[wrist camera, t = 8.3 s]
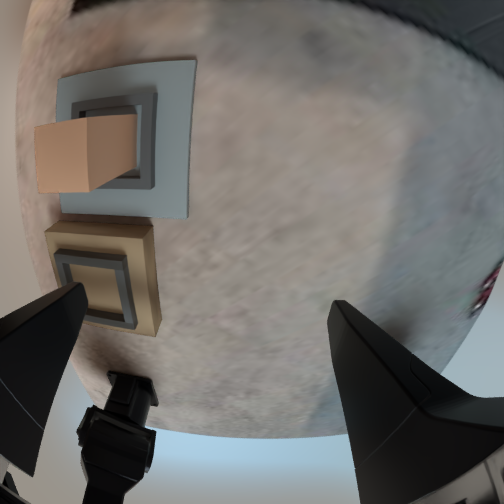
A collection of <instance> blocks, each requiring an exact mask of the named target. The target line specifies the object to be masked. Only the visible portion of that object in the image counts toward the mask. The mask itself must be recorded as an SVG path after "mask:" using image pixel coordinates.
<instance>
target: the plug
mask: <svg viewBox="0 0 504 504" xmlns="http://www.w3.org/2000/svg"><path fill="white" fill-rule="evenodd" d="M137 121H138V114H129V115H110V116H97V117H86V118H79V119H73V120H67V121H61V122H56V123H51V124H46V125H42V126H37V127H34V135H35V160H36V173H37V183H38V191H39V193H71V192H91V191H92V190H94V189H96V188H98V187H99V186H101V185H103V184H105V183H107V182H108V181H110V180H112V179H114V178H116V177H118V176H120V175H121V174H123V173H125V172H127V171H129V170H131V169H133V168H135V167H137Z"/></svg>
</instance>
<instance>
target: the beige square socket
mask: <svg viewBox="0 0 504 504" xmlns="http://www.w3.org/2000/svg"><path fill="white" fill-rule="evenodd" d="M44 232H45V237H46V242H47V246H48V251H49V255H50V259H51V263H52V267H53V270H54V274H55V278H56V281H57V285H58V288H60V287H62V286H64V285H66V284H68V283H71V282H73V281H75V282H81V283H83V285H84V287H85V291H86V294H87V298H88V308H87V311H86V314H85V317H84V320H83V324H88V325H92V326H97V327H102V328H107V329H112V330H117V331H123V332H128V333H134V334H140V335H146V336H152V337H156V334H157V332H158V329H159V326H160V323H161V321H162V317H161V310H160V302H159V293H158V284H157V274H156V263H155V250H154V236H153V226H145V225H129V224H112V223H95V222H76V221H58V222H57V223H55V224H54V225H53V226H51V227H50V228H48V229H47V230H46V231H44Z"/></svg>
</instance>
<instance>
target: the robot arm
mask: <svg viewBox="0 0 504 504" xmlns="http://www.w3.org/2000/svg"><path fill="white" fill-rule="evenodd" d="M87 308H88V298H87V294H86V291H85V287H84V285H83V283H81V282H75V281H73V282H71V283H68V284H66V285H64V286H62V287H60V288H58V289H56V290H54V291H52V292H50V293H48V294H46V295H44V296H42V297H40V298H39V299H36V300H35V301H32V302H31V303H29V304H27V305H25V306H23V307H21V308H19V309H17V310H15V311H13V312H12V313H10V314H8V315H6V316H5V317H2V318H0V504H31V503H29V502H27V501H26V500H24V499H23V498H21V497H20V496H19V494H18V491H17V489H16V486H15V484H14V481H13V478H12V476H11V474H10V473H9V472H7V468H8V465H9V463H10V464H12V465H13V466H15V467H16V468H18V469H19V470H21V471H23V472H24V473H26V474H28V475H29V476H31V477H33V475H34V472H35V467H36V462H37V457H38V453H39V449H40V445H41V441H42V437H43V433H44V429H45V426H46V422H47V419H48V416H49V412H50V409H51V406H52V403H53V400H54V397H55V394H56V391H57V389H58V386H59V383H60V380H61V378H62V375H63V372H64V369H65V367H66V365H67V362H68V360H69V357H70V355H71V352H72V350H73V347H74V345H75V343H76V340H77V337H78V335H79V332H80V329H81V326H82V323H83V320H84V317H85V314H86V311H87ZM327 326H328V334H329V341H330V350H331V358H332V364H333V368H334V372H335V376H336V381H337V385H338V389H339V394H340V398H341V402H342V407H343V412H344V416H345V421H346V426H347V431H348V435H349V440H350V445H351V451H352V456H353V461H354V466H355V468H356V469H355V473H356V479H357V485H358V491H359V497H360V503H361V504H504V397H494V398H481V397H476V396H473V395H470V394H469V393H467V392H465V391H464V390H462V389H461V388H459V387H458V386H457V385H455V384H454V383H452V382H451V381H449V380H448V379H446V378H445V377H443V376H442V375H440V374H439V373H438V372H436V371H435V370H433V369H432V368H430V367H429V366H428V365H427V364H425V363H424V362H423V361H421V360H420V359H419V358H418V357H416V356H415V355H414V354H412V353H411V352H410V351H409V350H408V349H406V348H405V347H404V346H403V345H401V344H400V343H399V342H398V341H396V340H395V339H394V338H393V337H391V336H390V335H389V334H388V333H386V332H385V331H384V330H382V329H381V328H380V327H379V326H377V325H376V324H375V323H374V322H372V321H371V320H370V319H368V318H367V317H366V316H365V315H363V314H362V313H361V312H360V311H358V310H357V309H356V308H354V307H353V306H352V305H351V304H349V303H348V302H347V301H345V300H334V301H333V303H332V305H331V309H330V312H329V316H328V320H327ZM107 376H108V379H109V381H110V383H111V385H112V389H111V391H110V394H109V396H108V399H107V402H106V404H105V407H104V410H102V409H100V408H98V407H97V406H95V405H93V406H92V407H91V408H90V407H88V408H87V410H86V413H85V415H84V417H83V419H82V421H81V423H80V425H79V427H78V429H77V432H76V433H77V435H78V437H79V438H78V440H79V443H78V445H79V446H81V447H83V448H82V451H81V466H82V469H83V472H84V475H85V478H86V481H87V487H86V491H85V495H84V499H83V503H82V504H123V500H124V495H125V494H126V493H127V492H128V491H129V490H131V489H132V488H133V487H134V486H135V485H136V484H137V483H138V482H139V481H140V480H142V478H143V477H144V472H146V473H148V471H149V469H150V467H151V463H152V460H153V454H154V446H155V438H156V431H155V430H150V429H147V428H145V423H146V419H147V415H148V412H149V408H150V406H156V407H157V406H158V404H159V403H158V400H157V397H156V393H155V390H154V387H153V383H152V381H151V380H149V379H145V378H139V377H135V376H130V375H125V374H121V373H116V372H112V371H108V372H107Z"/></svg>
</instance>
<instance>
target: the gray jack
mask: <svg viewBox="0 0 504 504" xmlns="http://www.w3.org/2000/svg"><path fill="white" fill-rule="evenodd" d="M196 68H197V61H196V60H179V61H162V62H150V63H140V64H132V65H124V66H118V67H111V68H106V69H100V70H95V71H90V72H85V73H81V74H77V75H73V76H69V77H65V78H61V79H58V86H57V101H56V122H61V121H67V120H73V119H79V118H86V117H97V116H110V115H129V114H138V121H137V167H135V168H133V169H131V170H129V171H127V172H125V173H123V174H121V175H120V176H118V177H116V178H114V179H112V180H110V181H108V182H107V183H105V184H103V185H101V186H99V187H98V188H96V189H94V190H92V191H91V192H71V193H59V195H60V203H61V211H62V213H72V214H98V215H120V216H139V217H156V218H172V219H187V218H188V202H189V166H190V144H191V127H192V112H193V100H194V88H195V78H196Z"/></svg>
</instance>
